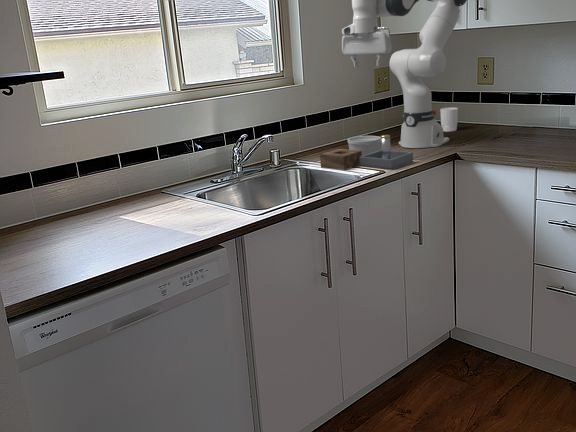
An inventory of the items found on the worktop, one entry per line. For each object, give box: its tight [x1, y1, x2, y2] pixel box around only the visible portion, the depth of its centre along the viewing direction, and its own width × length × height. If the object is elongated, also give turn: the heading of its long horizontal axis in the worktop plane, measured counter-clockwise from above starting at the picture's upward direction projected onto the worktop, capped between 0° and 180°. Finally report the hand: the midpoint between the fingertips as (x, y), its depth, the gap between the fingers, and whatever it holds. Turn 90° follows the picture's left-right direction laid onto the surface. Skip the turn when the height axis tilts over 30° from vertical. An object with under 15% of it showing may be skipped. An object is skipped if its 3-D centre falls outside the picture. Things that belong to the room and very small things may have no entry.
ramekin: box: [347, 135, 381, 156], centre depth 251 cm, size 13×13×7 cm
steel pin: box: [380, 134, 392, 159], centre depth 232 cm, size 3×3×10 cm
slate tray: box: [359, 149, 414, 170], centre depth 233 cm, size 14×14×4 cm
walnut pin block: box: [319, 148, 362, 171], centre depth 236 cm, size 11×11×5 cm
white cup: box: [439, 107, 459, 133], centre depth 291 cm, size 8×8×10 cm
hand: (367, 66), depth 233 cm, fingers open, 8 cm apart
